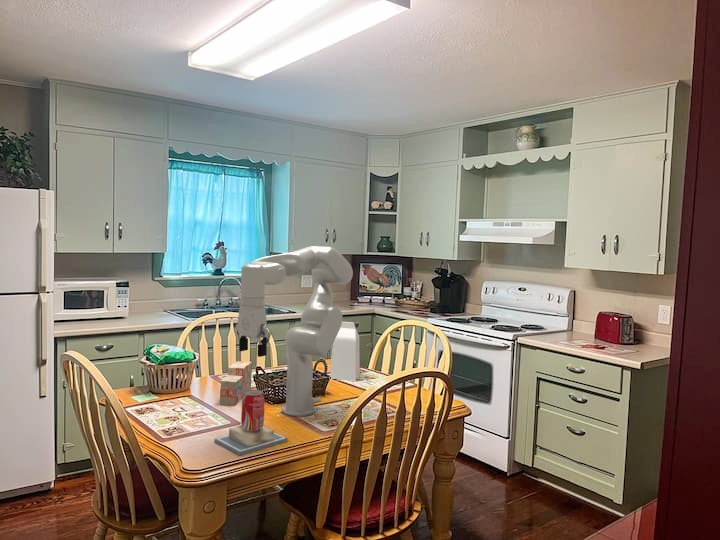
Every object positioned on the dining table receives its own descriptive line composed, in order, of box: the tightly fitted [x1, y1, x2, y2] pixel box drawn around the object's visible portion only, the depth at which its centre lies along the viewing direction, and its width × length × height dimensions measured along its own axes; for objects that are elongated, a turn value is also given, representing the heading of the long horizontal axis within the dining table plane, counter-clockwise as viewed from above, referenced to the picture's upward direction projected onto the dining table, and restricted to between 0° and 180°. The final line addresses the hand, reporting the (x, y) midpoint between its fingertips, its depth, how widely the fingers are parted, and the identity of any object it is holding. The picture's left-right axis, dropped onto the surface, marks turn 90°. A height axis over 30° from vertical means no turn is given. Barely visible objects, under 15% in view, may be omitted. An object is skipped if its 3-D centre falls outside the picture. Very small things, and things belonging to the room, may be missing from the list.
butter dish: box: [213, 425, 289, 456], centre depth 177 cm, size 18×14×4 cm
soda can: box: [240, 388, 265, 432], centre depth 177 cm, size 7×7×12 cm
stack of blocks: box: [219, 360, 253, 406], centre depth 223 cm, size 21×6×12 cm, turn 175°
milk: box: [329, 321, 361, 381], centre depth 260 cm, size 12×12×26 cm
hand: (252, 353), depth 185 cm, fingers open, 9 cm apart
